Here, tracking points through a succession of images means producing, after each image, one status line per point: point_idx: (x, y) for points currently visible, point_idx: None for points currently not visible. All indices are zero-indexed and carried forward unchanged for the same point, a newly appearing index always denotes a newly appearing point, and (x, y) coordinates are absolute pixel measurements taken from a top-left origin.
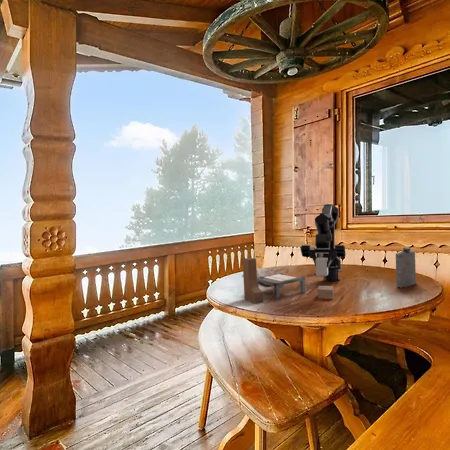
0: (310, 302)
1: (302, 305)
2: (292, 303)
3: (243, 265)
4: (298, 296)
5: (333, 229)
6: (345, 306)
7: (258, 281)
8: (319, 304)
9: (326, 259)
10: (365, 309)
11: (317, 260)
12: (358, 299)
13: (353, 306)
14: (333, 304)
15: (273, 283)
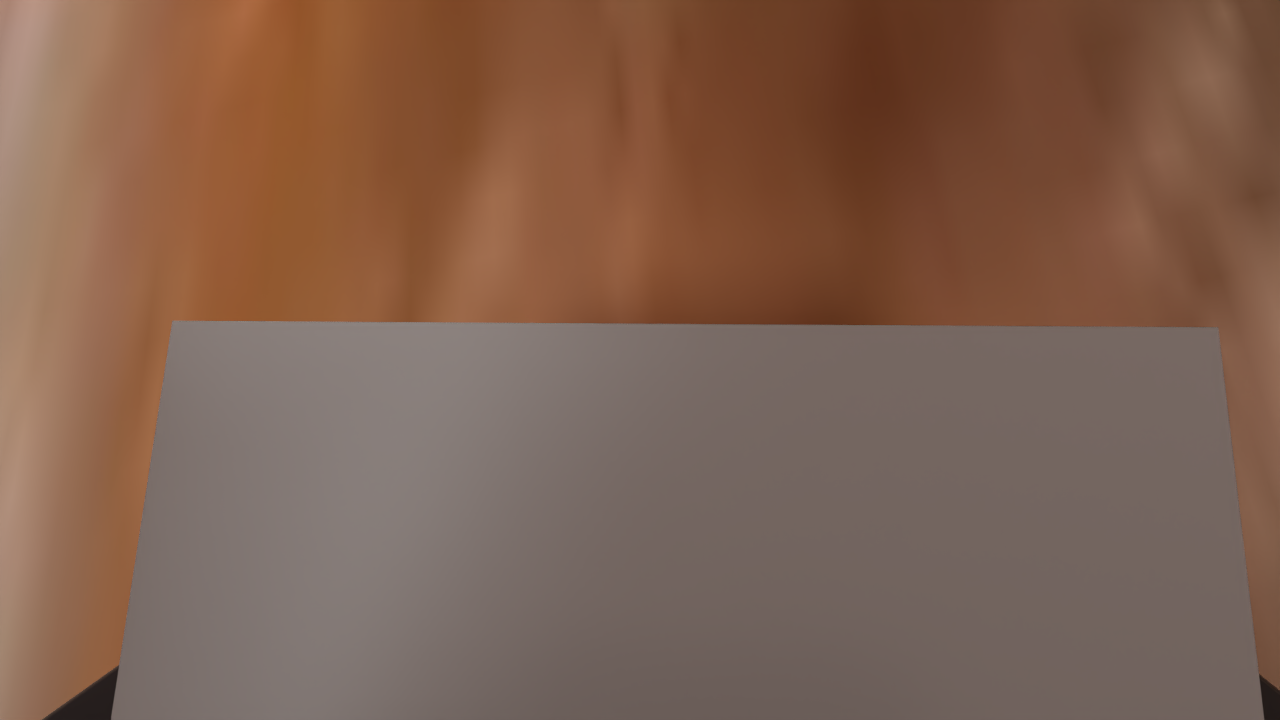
0: (896, 206)
1: (994, 5)
2: (1203, 68)
3: None
4: (1250, 584)
5: None
6: (301, 130)
7: None
8: (720, 130)
9: (181, 327)
10: (31, 61)
11: (989, 350)
12: (37, 616)
13: (180, 161)
14: (488, 188)
15: None
